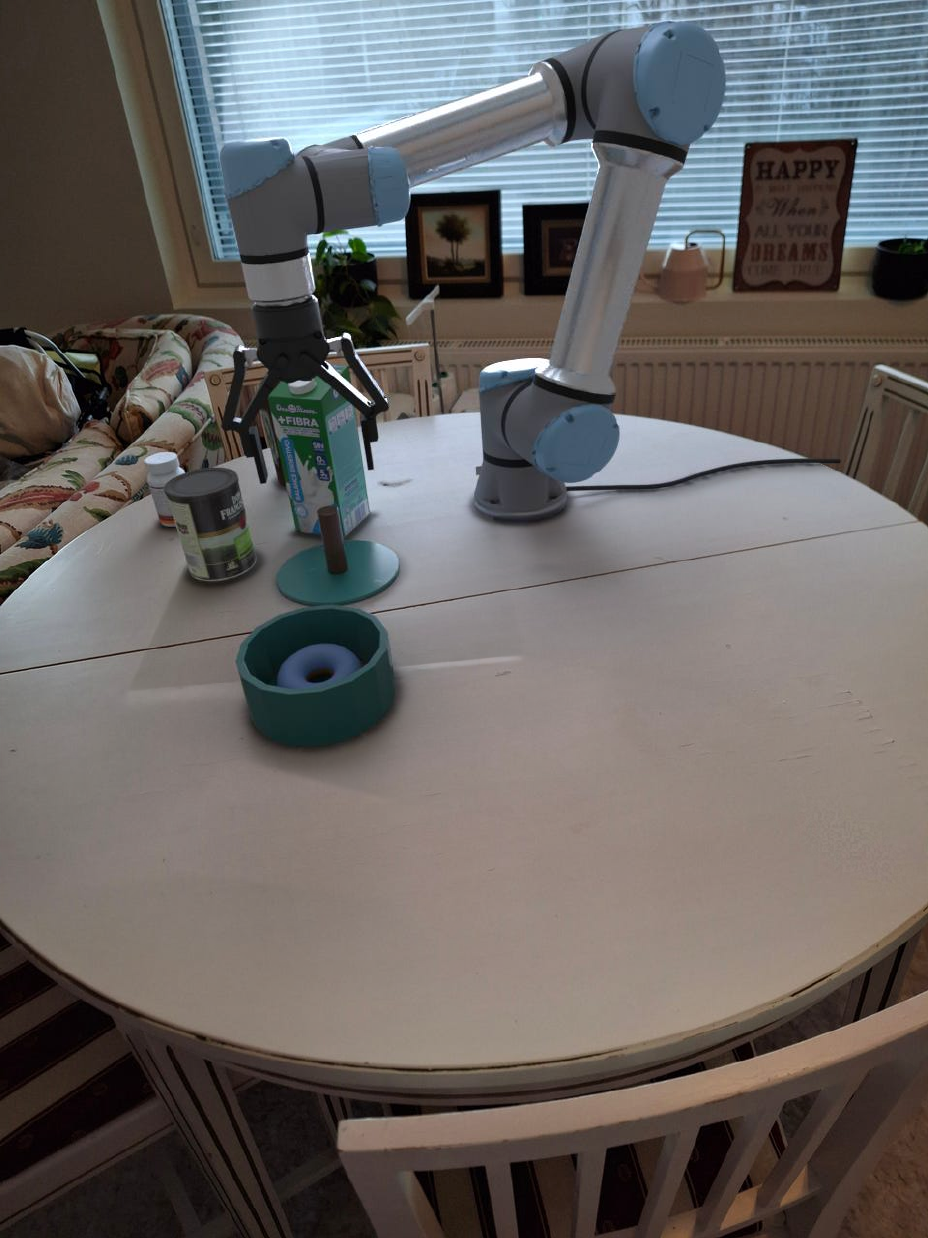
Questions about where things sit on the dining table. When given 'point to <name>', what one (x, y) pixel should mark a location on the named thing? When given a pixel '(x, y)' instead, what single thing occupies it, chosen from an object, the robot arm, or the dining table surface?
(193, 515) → the coffee can
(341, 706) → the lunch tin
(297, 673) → the doughnut
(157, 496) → the pill bottle
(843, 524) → the dining table surface
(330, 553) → the lid
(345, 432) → the milk carton
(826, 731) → the dining table surface
